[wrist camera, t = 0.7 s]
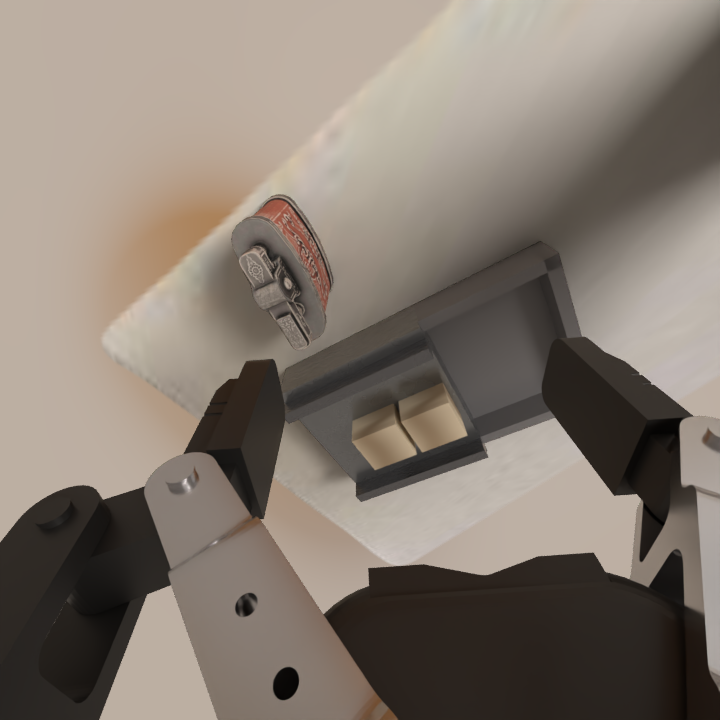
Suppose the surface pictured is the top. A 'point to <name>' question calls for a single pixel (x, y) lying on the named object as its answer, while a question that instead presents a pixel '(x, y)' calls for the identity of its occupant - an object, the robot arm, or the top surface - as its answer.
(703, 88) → the top surface
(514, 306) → the tray
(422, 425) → the chip
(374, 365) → the slot block
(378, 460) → the chip
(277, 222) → the lighter
